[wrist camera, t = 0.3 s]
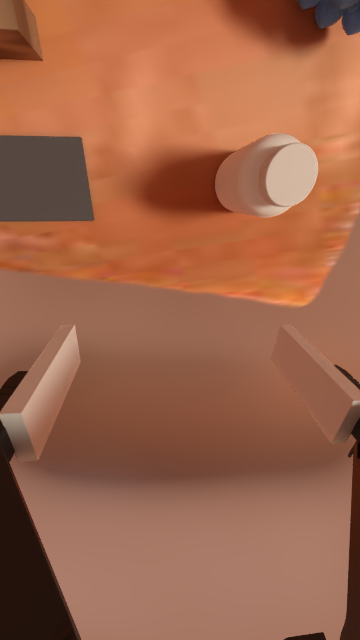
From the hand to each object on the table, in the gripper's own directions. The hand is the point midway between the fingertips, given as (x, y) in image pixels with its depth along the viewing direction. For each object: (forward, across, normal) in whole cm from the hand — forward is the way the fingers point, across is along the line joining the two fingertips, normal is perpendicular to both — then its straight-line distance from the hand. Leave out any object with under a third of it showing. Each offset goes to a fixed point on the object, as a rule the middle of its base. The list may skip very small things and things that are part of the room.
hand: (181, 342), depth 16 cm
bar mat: (+27, -21, +9) cm, 35 cm away
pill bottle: (+27, +11, +11) cm, 31 cm away
